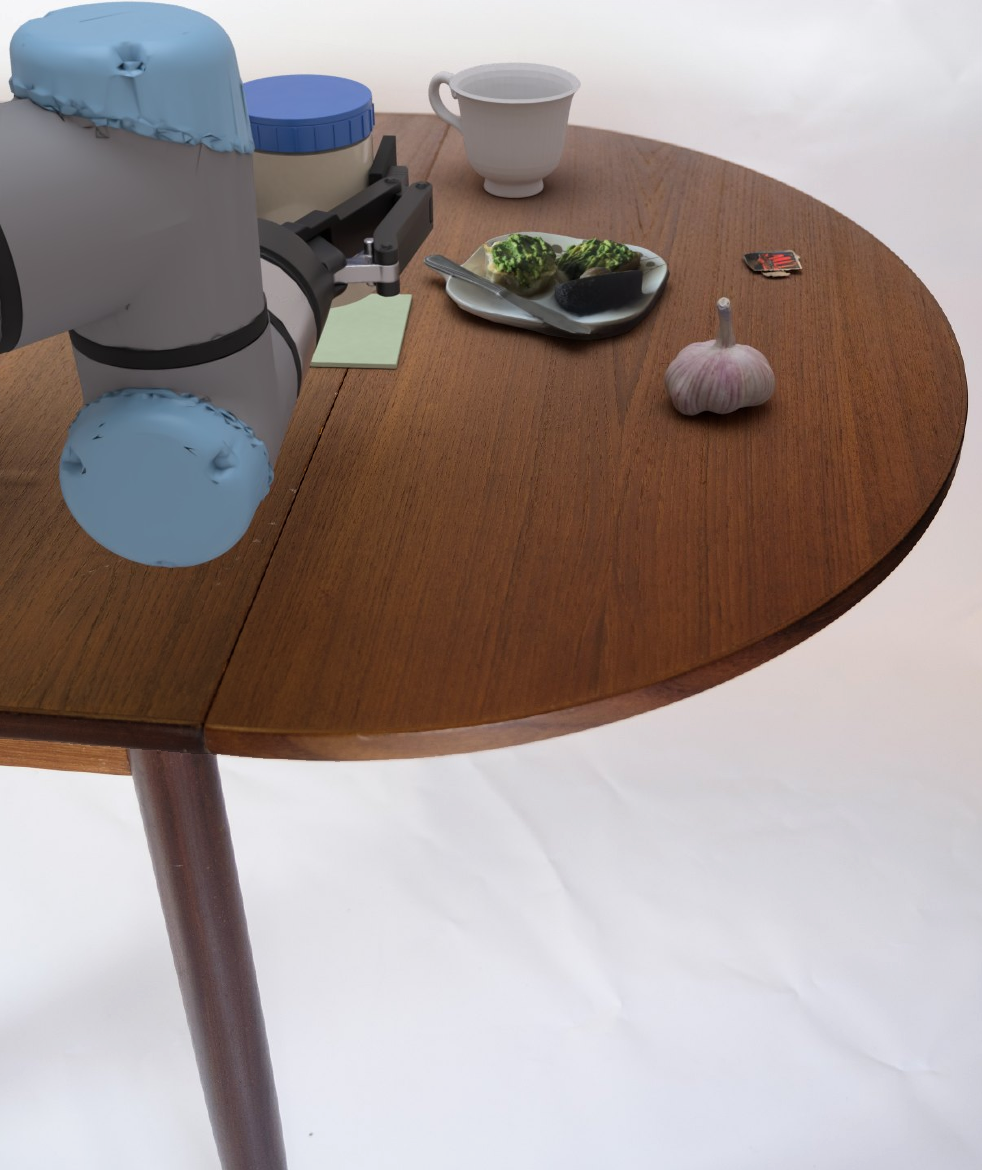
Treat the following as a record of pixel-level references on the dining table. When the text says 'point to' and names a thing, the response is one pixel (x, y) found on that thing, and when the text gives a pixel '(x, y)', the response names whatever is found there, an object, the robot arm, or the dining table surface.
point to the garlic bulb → (719, 373)
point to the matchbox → (773, 262)
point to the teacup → (509, 121)
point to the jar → (313, 188)
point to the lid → (308, 112)
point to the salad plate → (556, 284)
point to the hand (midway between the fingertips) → (318, 156)
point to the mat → (364, 333)
